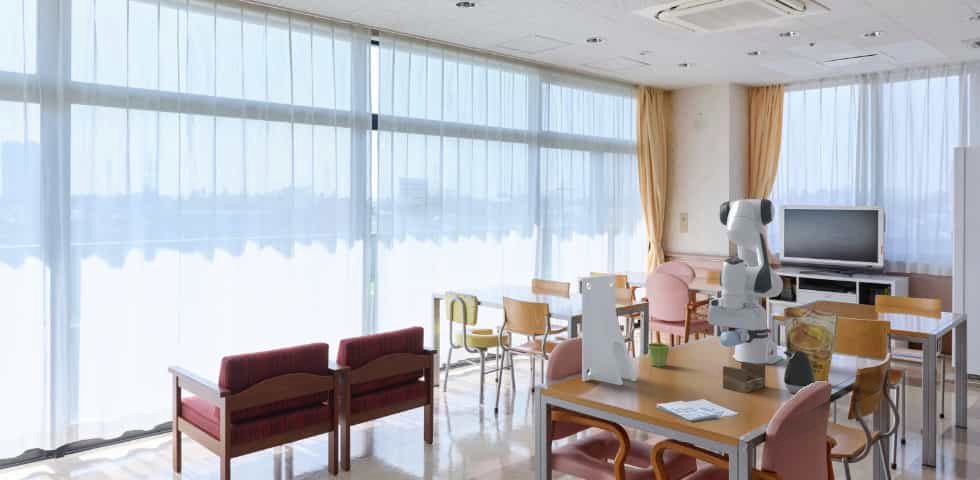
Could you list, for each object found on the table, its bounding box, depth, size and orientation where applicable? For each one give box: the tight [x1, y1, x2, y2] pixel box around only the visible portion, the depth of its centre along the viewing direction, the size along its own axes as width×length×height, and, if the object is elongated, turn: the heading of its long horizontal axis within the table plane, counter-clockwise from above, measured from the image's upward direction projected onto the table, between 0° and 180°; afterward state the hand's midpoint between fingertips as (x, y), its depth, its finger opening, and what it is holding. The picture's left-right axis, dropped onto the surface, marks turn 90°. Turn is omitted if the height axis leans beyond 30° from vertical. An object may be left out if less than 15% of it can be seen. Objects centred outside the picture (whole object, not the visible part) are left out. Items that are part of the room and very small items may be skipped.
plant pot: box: [647, 342, 671, 368], centre depth 301 cm, size 9×9×9 cm
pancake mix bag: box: [783, 306, 839, 383], centre depth 269 cm, size 7×19×28 cm, turn 42°
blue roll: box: [719, 329, 747, 348], centre depth 265 cm, size 9×5×5 cm, turn 128°
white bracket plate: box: [581, 273, 637, 386], centre depth 276 cm, size 20×14×40 cm
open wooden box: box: [722, 361, 766, 393], centre depth 263 cm, size 14×9×8 cm, turn 130°
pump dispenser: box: [783, 350, 815, 395], centre depth 254 cm, size 10×10×15 cm
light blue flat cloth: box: [655, 398, 740, 423], centre depth 232 cm, size 19×20×2 cm
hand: (733, 339), depth 265 cm, fingers closed on blue roll, 5 cm apart
